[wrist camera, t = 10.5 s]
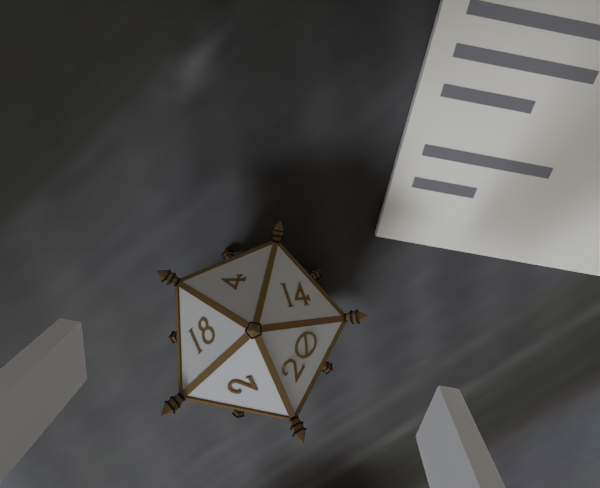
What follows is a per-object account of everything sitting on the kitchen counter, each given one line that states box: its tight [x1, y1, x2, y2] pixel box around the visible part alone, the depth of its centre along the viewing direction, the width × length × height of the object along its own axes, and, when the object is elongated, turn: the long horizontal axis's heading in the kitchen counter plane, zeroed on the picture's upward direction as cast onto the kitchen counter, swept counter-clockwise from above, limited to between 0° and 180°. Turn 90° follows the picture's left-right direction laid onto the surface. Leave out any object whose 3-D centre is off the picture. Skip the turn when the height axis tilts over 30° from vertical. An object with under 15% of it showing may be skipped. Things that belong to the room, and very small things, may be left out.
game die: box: [157, 221, 367, 443], centre depth 15 cm, size 9×8×10 cm
